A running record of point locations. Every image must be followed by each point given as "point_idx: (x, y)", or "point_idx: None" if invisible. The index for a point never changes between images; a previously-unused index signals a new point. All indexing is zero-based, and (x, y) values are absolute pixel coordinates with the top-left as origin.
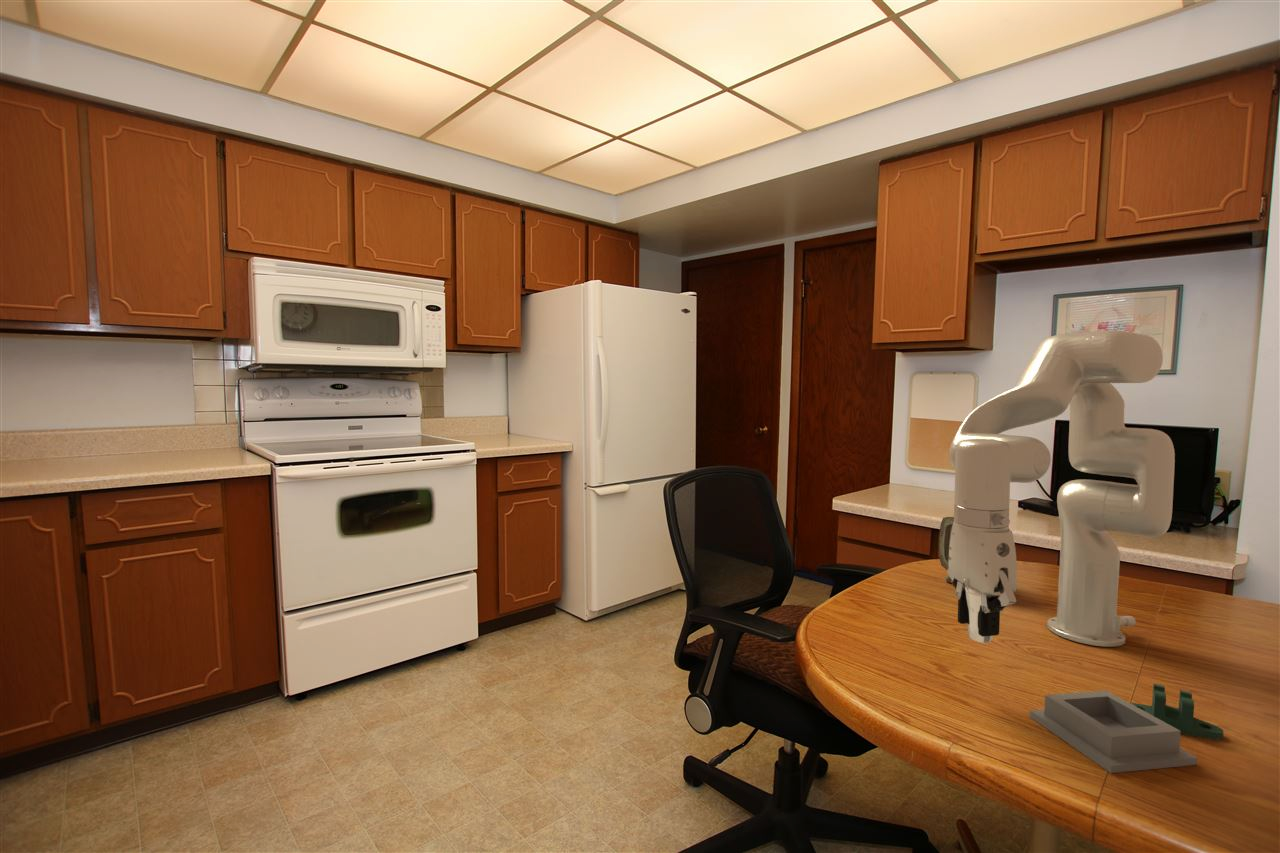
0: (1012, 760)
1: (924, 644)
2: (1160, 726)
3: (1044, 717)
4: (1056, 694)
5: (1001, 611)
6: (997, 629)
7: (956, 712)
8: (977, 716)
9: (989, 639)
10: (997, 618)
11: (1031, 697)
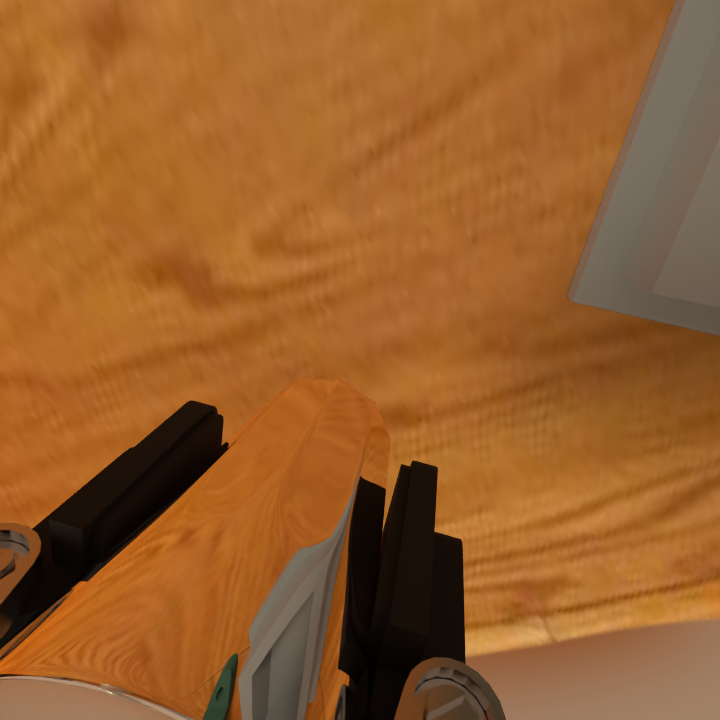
0: (682, 565)
1: (7, 170)
2: None
3: (634, 299)
4: (679, 231)
5: (487, 697)
6: (462, 550)
7: (437, 487)
8: (480, 452)
9: (389, 451)
10: (460, 636)
11: (475, 138)
